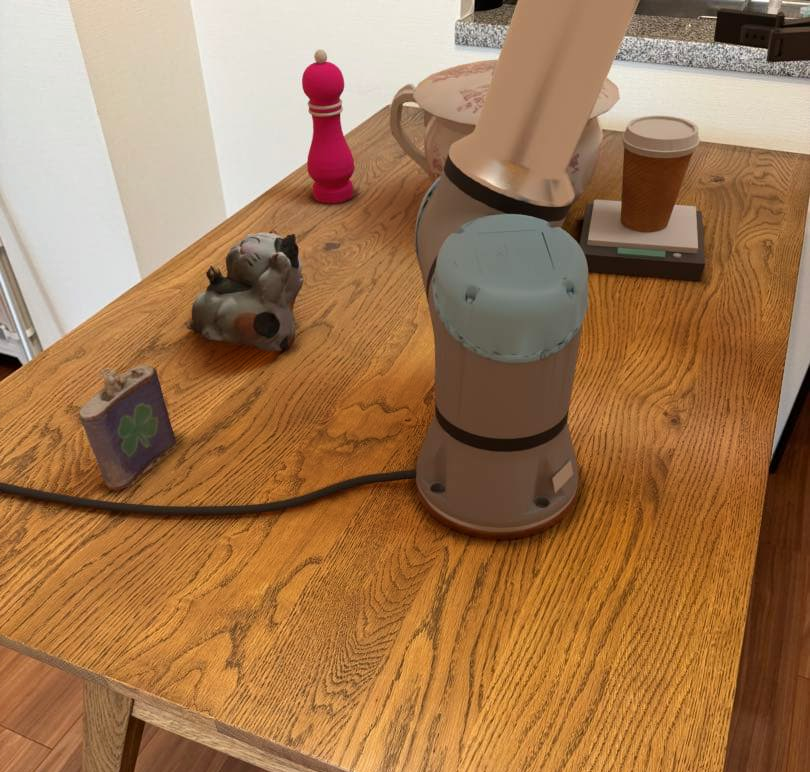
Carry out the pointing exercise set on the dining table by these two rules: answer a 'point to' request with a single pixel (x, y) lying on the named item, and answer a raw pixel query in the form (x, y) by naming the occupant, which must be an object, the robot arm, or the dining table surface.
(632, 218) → the disposable coffee cup
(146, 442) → the flask
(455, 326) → the robot arm
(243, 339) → the lucky cat figurine
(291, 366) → the dining table surface
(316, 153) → the pepper mill
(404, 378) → the dining table surface
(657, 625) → the dining table surface
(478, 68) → the chamber pot
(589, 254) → the kitchen scale
